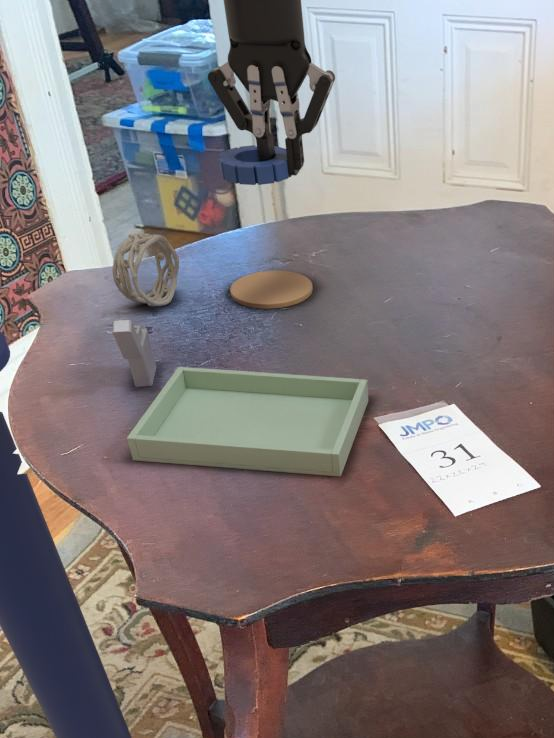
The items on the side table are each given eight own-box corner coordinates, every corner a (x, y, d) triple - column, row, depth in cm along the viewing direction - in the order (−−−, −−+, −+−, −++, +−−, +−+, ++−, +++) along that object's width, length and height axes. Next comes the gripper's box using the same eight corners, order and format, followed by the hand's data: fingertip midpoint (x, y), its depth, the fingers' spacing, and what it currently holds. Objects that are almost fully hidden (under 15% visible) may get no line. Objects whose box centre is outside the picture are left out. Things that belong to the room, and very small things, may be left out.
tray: (132, 460, 78) (126, 438, 76) (183, 387, 87) (178, 366, 86) (340, 476, 76) (338, 454, 75) (368, 400, 86) (367, 379, 84)
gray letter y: (139, 367, 90) (120, 294, 85) (156, 366, 91) (138, 293, 85) (131, 401, 85) (110, 326, 80) (148, 400, 86) (129, 325, 80)
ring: (211, 183, 92) (208, 165, 91) (233, 160, 98) (231, 143, 97) (283, 186, 92) (281, 168, 90) (301, 163, 97) (299, 146, 96)
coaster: (220, 306, 102) (219, 301, 101) (244, 272, 109) (243, 268, 108) (301, 311, 101) (301, 306, 100) (320, 277, 108) (320, 272, 108)
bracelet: (189, 292, 104) (175, 225, 99) (148, 318, 99) (131, 249, 94) (162, 286, 105) (147, 220, 100) (120, 312, 100) (102, 243, 95)
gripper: (338, -22, 85) (350, 165, 97) (204, -26, 86) (232, 159, 98) (321, -10, 79) (336, 187, 91) (178, -15, 80) (211, 180, 92)
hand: (282, 172), depth 94 cm, fingers closed on ring, 2 cm apart
